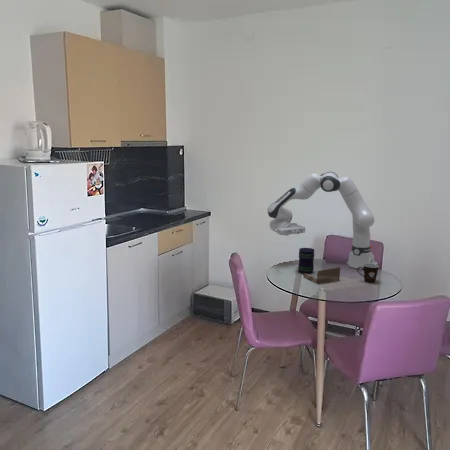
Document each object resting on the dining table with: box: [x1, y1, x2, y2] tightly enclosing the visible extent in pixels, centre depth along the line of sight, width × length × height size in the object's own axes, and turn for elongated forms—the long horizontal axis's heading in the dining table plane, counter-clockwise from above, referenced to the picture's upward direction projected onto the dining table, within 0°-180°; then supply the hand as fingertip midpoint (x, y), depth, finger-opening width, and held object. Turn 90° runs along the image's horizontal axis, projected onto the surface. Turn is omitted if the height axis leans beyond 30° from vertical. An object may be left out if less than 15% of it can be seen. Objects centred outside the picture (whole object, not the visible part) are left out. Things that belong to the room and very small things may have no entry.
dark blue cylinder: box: [297, 247, 315, 275], centre depth 288 cm, size 10×10×15 cm
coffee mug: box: [356, 264, 380, 284], centre depth 271 cm, size 12×9×10 cm
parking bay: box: [303, 266, 341, 285], centre depth 275 cm, size 14×16×8 cm
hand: (298, 232), depth 293 cm, fingers closed
